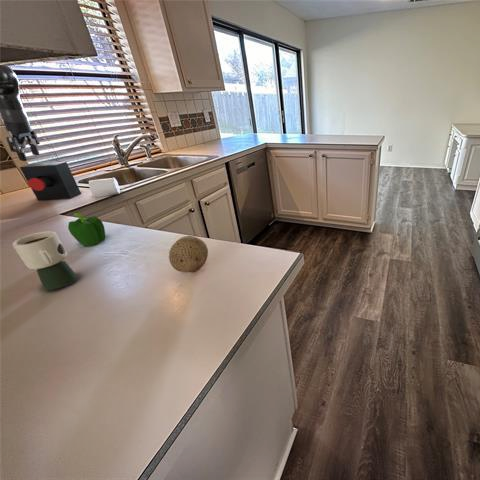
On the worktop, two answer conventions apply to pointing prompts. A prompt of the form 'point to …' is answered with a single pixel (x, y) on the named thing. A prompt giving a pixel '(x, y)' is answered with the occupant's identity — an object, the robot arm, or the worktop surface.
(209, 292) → the worktop surface
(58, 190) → the control box
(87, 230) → the bell pepper
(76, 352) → the worktop surface
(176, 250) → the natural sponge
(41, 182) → the knob
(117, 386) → the worktop surface
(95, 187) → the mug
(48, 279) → the character mug
